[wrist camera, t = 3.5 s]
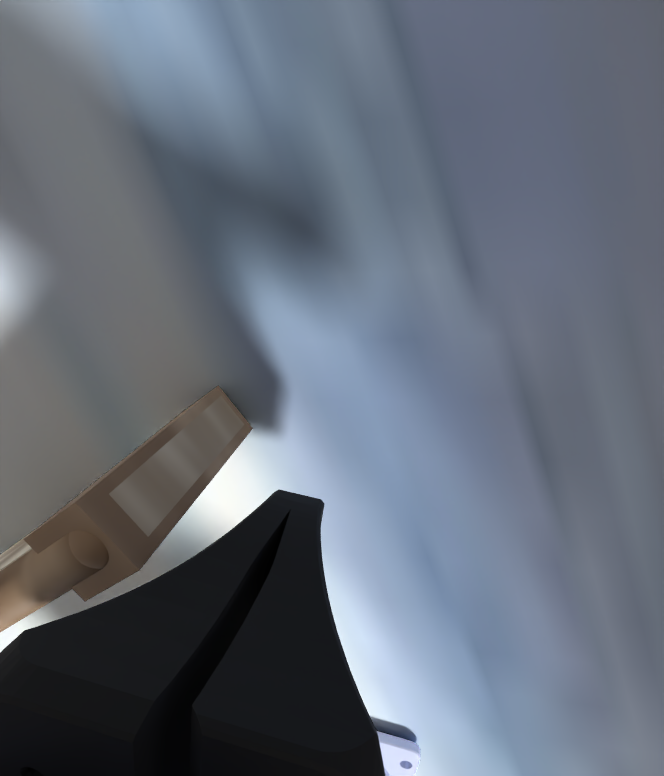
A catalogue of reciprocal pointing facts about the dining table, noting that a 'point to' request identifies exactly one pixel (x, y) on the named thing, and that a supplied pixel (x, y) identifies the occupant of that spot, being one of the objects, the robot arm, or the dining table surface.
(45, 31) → the dining table surface
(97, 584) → the tan flat block
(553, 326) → the dining table surface
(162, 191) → the dining table surface
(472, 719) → the dining table surface
